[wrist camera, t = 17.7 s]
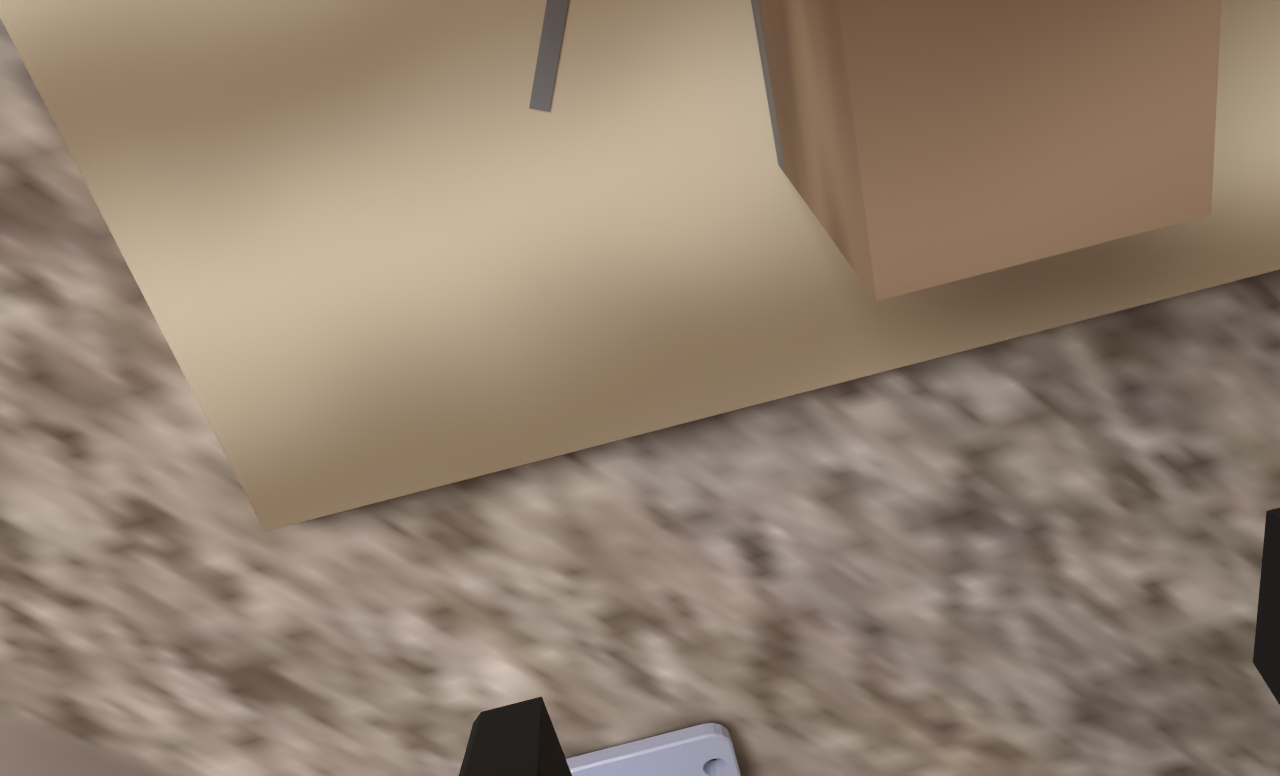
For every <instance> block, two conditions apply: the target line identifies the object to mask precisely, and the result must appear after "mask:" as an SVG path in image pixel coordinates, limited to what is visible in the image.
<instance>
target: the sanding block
mask: <svg viewBox="0 0 1280 776" xmlns="http://www.w3.org/2000/svg"><path fill="white" fill-rule="evenodd" d="M1221 2H1222V0H751V4H752V10H753V16H754V22H755V28H756V34H757V40H758V46H759V52H760V58H761V64H762V70H763V76H764V82H765V88H766V94H767V100H768V106H769V112H770V118H771V124H772V130H773V136H774V142H775V148H776V154H777V160H778V165H779V167H780V168H781V169H782V171H783V172H784V174H785V175H786V176H787V178H788V179H789V180H790V182H791V183H792V185H793V186H794V187H795V189H796V190H797V192H798V193H799V194H800V196H801V197H802V199H803V200H804V201H805V203H806V204H807V206H808V207H809V208H810V210H811V211H812V213H813V214H814V215H815V217H816V218H817V219H818V221H819V222H820V224H821V225H822V226H823V228H824V229H825V231H826V232H827V233H828V235H829V236H830V238H831V239H832V240H833V242H834V243H835V245H836V246H837V247H838V249H839V250H840V252H841V253H842V254H843V256H844V257H845V259H846V260H847V261H848V263H849V264H850V265H851V267H852V268H853V270H854V271H855V272H856V274H857V275H858V277H859V278H860V279H861V281H862V282H863V284H864V285H865V286H866V288H867V289H868V291H869V292H870V293H871V295H872V296H873V298H874V299H875V300H876V301H880V300H884V299H888V298H892V297H895V296H899V295H903V294H907V293H911V292H915V291H919V290H922V289H926V288H930V287H934V286H938V285H942V284H946V283H950V282H953V281H957V280H961V279H965V278H969V277H973V276H977V275H980V274H984V273H988V272H992V271H996V270H1000V269H1004V268H1008V267H1011V266H1015V265H1019V264H1023V263H1027V262H1031V261H1035V260H1038V259H1042V258H1046V257H1050V256H1054V255H1058V254H1062V253H1065V252H1069V251H1073V250H1077V249H1081V248H1085V247H1089V246H1093V245H1096V244H1100V243H1104V242H1108V241H1112V240H1116V239H1120V238H1123V237H1127V236H1131V235H1135V234H1139V233H1143V232H1147V231H1151V230H1154V229H1158V228H1162V227H1166V226H1170V225H1174V224H1178V223H1181V222H1185V221H1189V220H1193V219H1197V218H1201V217H1205V216H1209V215H1211V207H1212V186H1213V166H1214V145H1215V125H1216V104H1217V84H1218V63H1219V43H1220V22H1221Z"/></svg>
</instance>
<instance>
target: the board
mask: <svg viewBox="0 0 1280 776" xmlns="http://www.w3.org/2000/svg"><path fill="white" fill-rule="evenodd" d="M0 18H1V20H2V21H3V23H4V25H5V27H6V29H7V31H8V33H9V35H10V37H11V39H12V41H13V43H14V45H15V47H16V49H17V51H18V53H19V55H20V56H21V58H22V60H23V62H24V64H25V66H26V68H27V70H28V72H29V74H30V76H31V78H32V80H33V82H34V84H35V86H36V88H37V90H38V91H39V93H40V95H41V97H42V99H43V101H44V103H45V105H46V107H47V109H48V111H49V113H50V115H51V117H52V119H53V121H54V123H55V124H56V126H57V128H58V130H59V132H60V134H61V136H62V138H63V140H64V142H65V144H66V146H67V148H68V150H69V152H70V154H71V156H72V158H73V159H74V161H75V163H76V165H77V167H78V169H79V171H80V173H81V175H82V177H83V179H84V181H85V183H86V185H87V187H88V189H89V191H90V193H91V194H92V196H93V198H94V200H95V202H96V204H97V206H98V208H99V210H100V212H101V214H102V216H103V218H104V220H105V222H106V224H107V226H108V228H109V229H110V231H111V233H112V235H113V237H114V239H115V241H116V243H117V245H118V247H119V249H120V251H121V253H122V255H123V257H124V259H125V261H126V262H127V264H128V266H129V268H130V270H131V272H132V274H133V276H134V278H135V280H136V282H137V284H138V286H139V288H140V290H141V292H142V294H143V296H144V297H145V299H146V301H147V303H148V305H149V307H150V309H151V311H152V313H153V315H154V317H155V319H156V321H157V323H158V325H159V327H160V329H161V331H162V332H163V334H164V336H165V338H166V340H167V342H168V344H169V346H170V348H171V350H172V352H173V354H174V356H175V358H176V360H177V362H178V364H179V366H180V367H181V369H182V371H183V373H184V375H185V377H186V379H187V381H188V383H189V385H190V387H191V389H192V391H193V393H194V395H195V397H196V399H197V400H198V402H199V404H200V406H201V408H202V410H203V412H204V414H205V416H206V418H207V420H208V422H209V424H210V426H211V428H212V430H213V432H214V434H215V435H216V437H217V439H218V441H219V443H220V445H221V447H222V449H223V451H224V453H225V455H226V457H227V459H228V461H229V463H230V465H231V467H232V469H233V470H234V472H235V474H236V476H237V478H238V480H239V482H240V484H241V486H242V488H243V490H244V492H245V494H246V496H247V498H248V500H249V502H250V504H251V505H252V507H253V509H254V511H255V513H256V515H257V517H258V519H259V521H260V523H261V525H262V527H263V529H264V531H268V530H272V529H276V528H280V527H284V526H288V525H292V524H296V523H299V522H303V521H307V520H311V519H315V518H319V517H323V516H327V515H330V514H334V513H338V512H342V511H346V510H350V509H354V508H358V507H361V506H365V505H369V504H373V503H377V502H381V501H385V500H389V499H392V498H396V497H400V496H404V495H408V494H412V493H416V492H420V491H423V490H427V489H431V488H435V487H439V486H443V485H447V484H451V483H454V482H458V481H462V480H466V479H470V478H474V477H478V476H482V475H485V474H489V473H493V472H497V471H501V470H505V469H509V468H513V467H516V466H520V465H524V464H528V463H532V462H536V461H540V460H544V459H547V458H551V457H555V456H559V455H563V454H567V453H571V452H575V451H578V450H582V449H586V448H590V447H594V446H598V445H602V444H606V443H609V442H613V441H617V440H621V439H625V438H629V437H633V436H637V435H640V434H644V433H648V432H652V431H656V430H660V429H664V428H668V427H671V426H675V425H679V424H683V423H687V422H691V421H695V420H699V419H702V418H706V417H710V416H714V415H718V414H722V413H726V412H730V411H733V410H737V409H741V408H745V407H749V406H753V405H757V404H761V403H764V402H768V401H772V400H776V399H780V398H784V397H788V396H792V395H795V394H799V393H803V392H807V391H811V390H815V389H819V388H822V387H826V386H830V385H834V384H838V383H842V382H846V381H850V380H853V379H857V378H861V377H865V376H869V375H873V374H877V373H881V372H884V371H888V370H892V369H896V368H900V367H904V366H908V365H912V364H915V363H919V362H923V361H927V360H931V359H935V358H939V357H943V356H946V355H950V354H954V353H958V352H962V351H966V350H970V349H974V348H977V347H981V346H985V345H989V344H993V343H997V342H1001V341H1005V340H1008V339H1012V338H1016V337H1020V336H1024V335H1028V334H1032V333H1036V332H1039V331H1043V330H1047V329H1051V328H1055V327H1059V326H1063V325H1067V324H1070V323H1074V322H1078V321H1082V320H1086V319H1090V318H1094V317H1098V316H1101V315H1105V314H1109V313H1113V312H1117V311H1121V310H1125V309H1129V308H1132V307H1136V306H1140V305H1144V304H1148V303H1152V302H1156V301H1160V300H1163V299H1167V298H1171V297H1175V296H1179V295H1183V294H1187V293H1191V292H1194V291H1198V290H1202V289H1206V288H1210V287H1214V286H1218V285H1222V284H1225V283H1229V282H1233V281H1237V280H1241V279H1245V278H1249V277H1253V276H1256V275H1260V274H1264V273H1268V272H1272V271H1276V270H1280V0H1222V2H1221V22H1220V43H1219V63H1218V84H1217V104H1216V125H1215V145H1214V166H1213V186H1212V207H1211V215H1209V216H1205V217H1201V218H1197V219H1193V220H1189V221H1185V222H1181V223H1178V224H1174V225H1170V226H1166V227H1162V228H1158V229H1154V230H1151V231H1147V232H1143V233H1139V234H1135V235H1131V236H1127V237H1123V238H1120V239H1116V240H1112V241H1108V242H1104V243H1100V244H1096V245H1093V246H1089V247H1085V248H1081V249H1077V250H1073V251H1069V252H1065V253H1062V254H1058V255H1054V256H1050V257H1046V258H1042V259H1038V260H1035V261H1031V262H1027V263H1023V264H1019V265H1015V266H1011V267H1008V268H1004V269H1000V270H996V271H992V272H988V273H984V274H980V275H977V276H973V277H969V278H965V279H961V280H957V281H953V282H950V283H946V284H942V285H938V286H934V287H930V288H926V289H922V290H919V291H915V292H911V293H907V294H903V295H899V296H895V297H892V298H888V299H884V300H880V301H876V300H875V299H874V298H873V296H872V295H871V293H870V292H869V291H868V289H867V288H866V286H865V285H864V284H863V282H862V281H861V279H860V278H859V277H858V275H857V274H856V272H855V271H854V270H853V268H852V267H851V265H850V264H849V263H848V261H847V260H846V259H845V257H844V256H843V254H842V253H841V252H840V250H839V249H838V247H837V246H836V245H835V243H834V242H833V240H832V239H831V238H830V236H829V235H828V233H827V232H826V231H825V229H824V228H823V226H822V225H821V224H820V222H819V221H818V219H817V218H816V217H815V215H814V214H813V213H812V211H811V210H810V208H809V207H808V206H807V204H806V203H805V201H804V200H803V199H802V197H801V196H800V194H799V193H798V192H797V190H796V189H795V187H794V186H793V185H792V183H791V182H790V180H789V179H788V178H787V176H786V175H785V174H784V172H783V171H782V169H781V168H780V167H779V165H778V160H777V154H776V148H775V142H774V136H773V130H772V124H771V118H770V112H769V106H768V100H767V94H766V88H765V82H764V76H763V70H762V64H761V58H760V52H759V46H758V40H757V34H756V28H755V22H754V16H753V10H752V4H751V0H0Z"/></svg>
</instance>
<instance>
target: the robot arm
mask: <svg viewBox="0 0 1280 776" xmlns="http://www.w3.org/2000/svg"><path fill="white" fill-rule="evenodd" d="M1253 663H1254V665H1255V666H1256V668H1257V669H1258V671H1259V673H1260V674H1261V676H1262V677H1263V679H1264V681H1265V682H1266V684H1267V685H1268V687H1269V688H1270V690H1271V692H1272V693H1273V695H1274V696H1275V698H1276V700H1277V701H1278V703H1279V704H1280V508H1277V509H1273V510H1269V511H1267V513H1266V524H1265V535H1264V547H1263V558H1262V569H1261V580H1260V591H1259V602H1258V613H1257V624H1256V635H1255V646H1254V657H1253ZM717 758H719V759H717ZM711 759H717V760H714V761H709V760H711ZM459 776H741V774H740V770H739V766H738V763H737V759H736V755H735V751H734V748H733V744H732V740H731V736H730V733H729V732H728V730H727V728H725V727H724V726H722V725H720V724H715V723H706V724H700V725H697V726H693V727H689V728H685V729H681V730H677V731H673V732H669V733H665V734H661V735H657V736H653V737H650V738H646V739H642V740H638V741H634V742H630V743H626V744H622V745H618V746H614V747H610V748H606V749H603V750H599V751H595V752H591V753H587V754H583V755H579V756H575V757H571V758H567V759H566V758H565V756H564V753H563V751H562V748H561V745H560V743H559V740H558V738H557V735H556V733H555V730H554V727H553V725H552V722H551V720H550V717H549V714H548V712H547V709H546V707H545V704H544V701H543V699H542V697H538V698H535V699H531V700H527V701H523V702H519V703H515V704H511V705H507V706H503V707H499V708H495V709H492V710H488V711H484V712H481V713H480V714H479V716H478V717H477V719H476V720H475V721H474V723H473V726H472V730H471V734H470V738H469V741H468V745H467V749H466V752H465V756H464V759H463V763H462V766H461V770H460V773H459Z"/></svg>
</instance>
